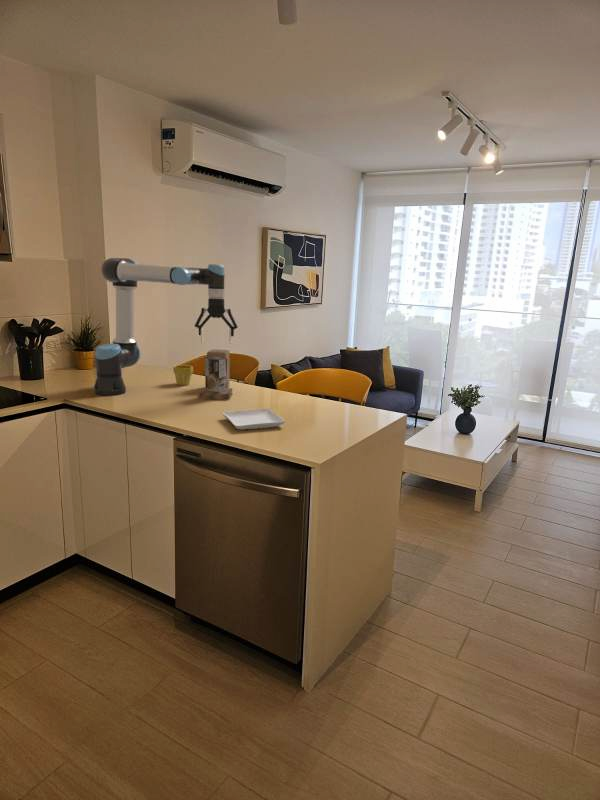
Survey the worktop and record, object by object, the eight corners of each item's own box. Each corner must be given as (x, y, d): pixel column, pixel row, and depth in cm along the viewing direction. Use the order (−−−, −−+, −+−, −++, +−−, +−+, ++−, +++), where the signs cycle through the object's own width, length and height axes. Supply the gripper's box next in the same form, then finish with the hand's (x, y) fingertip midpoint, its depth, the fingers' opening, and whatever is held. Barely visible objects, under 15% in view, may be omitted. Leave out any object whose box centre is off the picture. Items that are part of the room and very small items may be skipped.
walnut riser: (200, 398, 260) (200, 392, 259) (204, 393, 271) (204, 387, 271) (229, 399, 260) (229, 393, 259) (232, 394, 271) (232, 388, 271)
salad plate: (235, 433, 208) (235, 425, 208) (221, 419, 227) (221, 411, 227) (286, 429, 217) (286, 420, 216) (268, 415, 236) (268, 408, 235)
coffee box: (227, 390, 265) (227, 358, 262) (219, 393, 260) (219, 360, 256) (213, 388, 270) (213, 356, 266) (204, 390, 265) (204, 357, 261)
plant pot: (197, 384, 292) (197, 366, 290) (183, 387, 284) (183, 368, 282) (183, 381, 298) (183, 364, 295) (169, 384, 289) (169, 366, 287)
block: (229, 386, 288) (230, 349, 284) (225, 390, 279) (225, 352, 274) (211, 385, 289) (211, 348, 285) (206, 389, 280) (206, 351, 275)
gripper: (188, 297, 251) (188, 342, 256) (241, 299, 251) (241, 344, 256) (191, 296, 258) (192, 340, 263) (243, 298, 258) (242, 342, 263)
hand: (216, 342), depth 259 cm, fingers open, 13 cm apart
